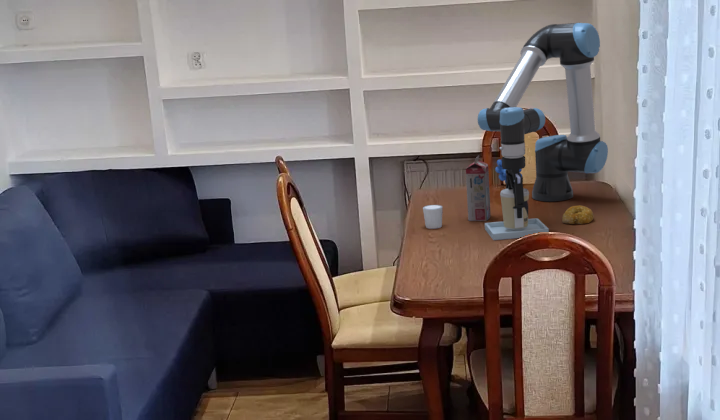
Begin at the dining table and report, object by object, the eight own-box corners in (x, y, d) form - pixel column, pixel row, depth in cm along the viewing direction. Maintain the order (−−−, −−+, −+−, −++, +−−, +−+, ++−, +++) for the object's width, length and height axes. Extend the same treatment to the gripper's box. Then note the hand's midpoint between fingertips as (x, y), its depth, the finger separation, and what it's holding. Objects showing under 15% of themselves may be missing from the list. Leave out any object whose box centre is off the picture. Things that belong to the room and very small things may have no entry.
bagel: (554, 221, 288) (554, 208, 287) (580, 216, 292) (580, 202, 291) (573, 227, 279) (573, 213, 278) (600, 221, 284) (599, 207, 282)
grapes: (491, 187, 346) (490, 158, 343) (498, 183, 351) (497, 155, 348) (518, 188, 339) (517, 159, 336) (525, 184, 345) (524, 155, 342)
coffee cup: (530, 229, 273) (529, 193, 270) (501, 230, 275) (499, 194, 272) (530, 222, 282) (529, 186, 279) (501, 222, 284) (500, 188, 281)
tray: (537, 224, 286) (537, 218, 285) (548, 235, 272) (548, 228, 272) (484, 229, 285) (484, 223, 285) (493, 240, 272) (493, 234, 271)
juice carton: (490, 216, 301) (487, 155, 296) (487, 220, 295) (484, 159, 290) (472, 215, 304) (469, 155, 298) (468, 220, 297) (465, 159, 292)
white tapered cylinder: (422, 225, 297) (421, 205, 295) (441, 223, 298) (440, 203, 296) (425, 229, 290) (424, 210, 289) (445, 227, 291) (444, 208, 289)
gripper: (494, 151, 283) (497, 216, 288) (509, 163, 262) (512, 233, 268) (517, 149, 283) (519, 214, 289) (533, 160, 262) (535, 231, 268)
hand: (515, 223), depth 278 cm, fingers closed on coffee cup, 8 cm apart
